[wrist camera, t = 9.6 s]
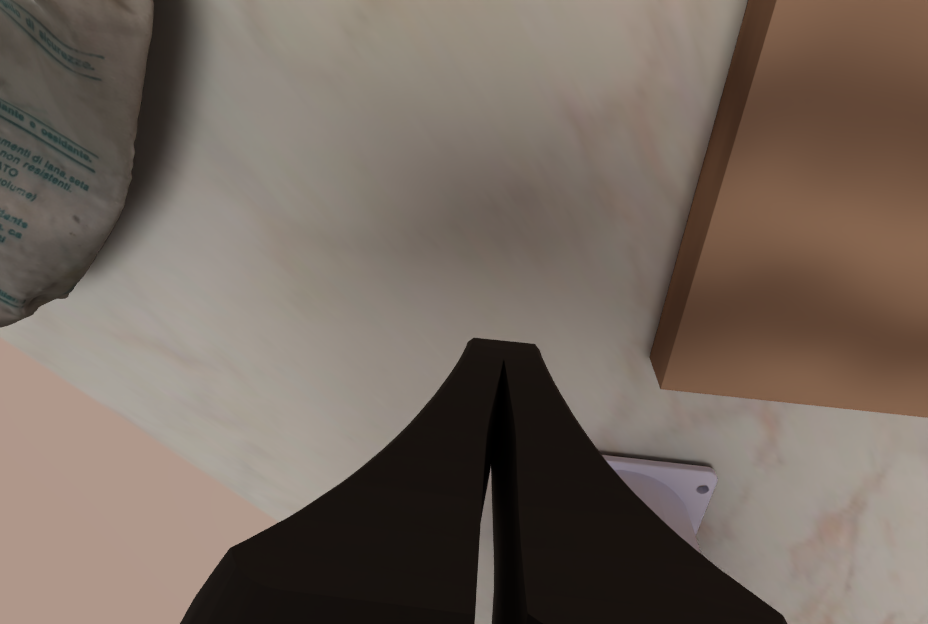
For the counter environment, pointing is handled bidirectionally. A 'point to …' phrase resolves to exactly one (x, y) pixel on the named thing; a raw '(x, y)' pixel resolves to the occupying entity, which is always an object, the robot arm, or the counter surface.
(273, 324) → the counter surface
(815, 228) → the deck
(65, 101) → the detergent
